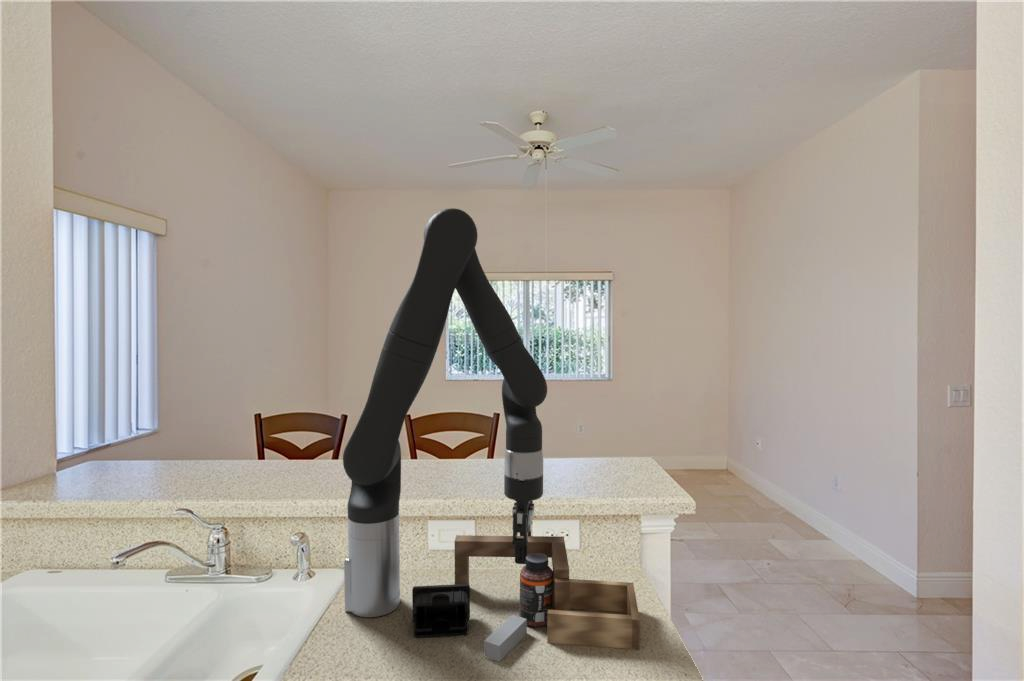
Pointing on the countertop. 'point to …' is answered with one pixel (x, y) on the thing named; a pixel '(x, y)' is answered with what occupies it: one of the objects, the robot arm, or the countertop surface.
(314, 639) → the countertop surface
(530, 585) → the supplement bottle
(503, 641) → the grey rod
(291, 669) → the countertop surface
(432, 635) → the black box
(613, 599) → the light wood frame
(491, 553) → the walnut crook
